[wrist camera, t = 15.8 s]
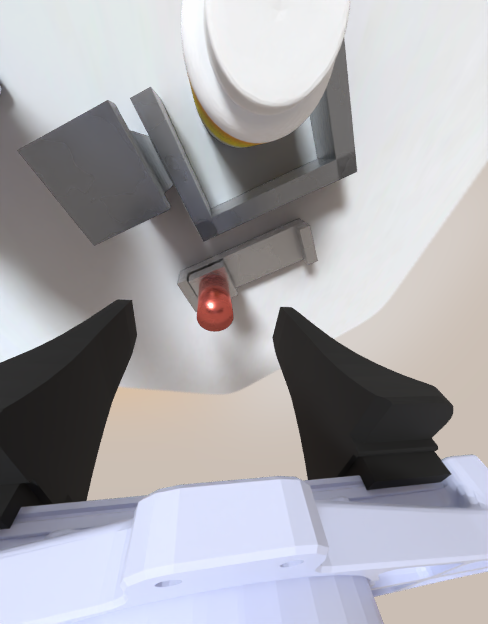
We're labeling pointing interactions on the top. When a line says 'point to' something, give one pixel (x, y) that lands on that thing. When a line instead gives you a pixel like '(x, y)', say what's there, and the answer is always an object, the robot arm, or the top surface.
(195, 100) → the supplement bottle
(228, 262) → the lever rail
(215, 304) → the lever
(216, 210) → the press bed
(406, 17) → the top surface
